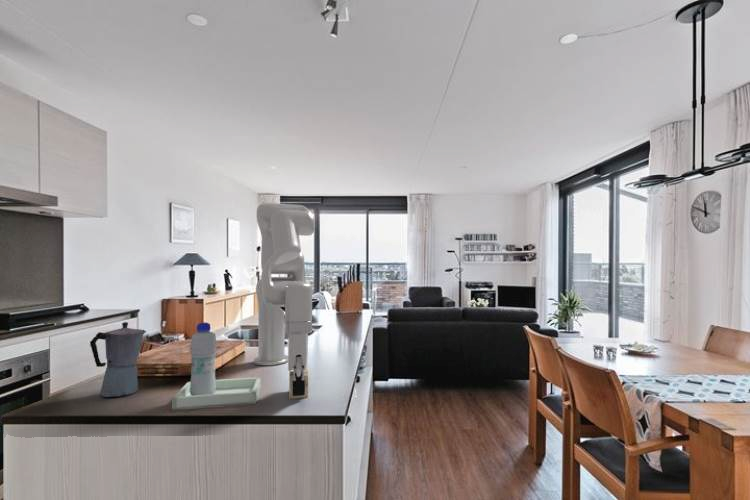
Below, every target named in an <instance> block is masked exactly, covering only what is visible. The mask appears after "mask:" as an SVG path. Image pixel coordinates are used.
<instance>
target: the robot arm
mask: <svg viewBox="0 0 750 500" xmlns="http://www.w3.org/2000/svg"><path fill="white" fill-rule="evenodd" d="M314 216H315V215H314V214H313V212H311V209H310V210H309V209H308V208H307V207H306V206H304V205H302V204H289V203H277V202H276V203H275V202H271V203H270V202H269V203H262V204H259V205H258V206H257V208H256V223H257V225H258V228H259V231H260V236H261V252H260V255H261V257H260V258H261V259H260V261H261V262H260V264H261V265H260V266H261V270H262V271H261V275H260V276H261V278H260V279H259V280H258V281H257V283H256V286H255V287H256V288H255V292H256V299H257V309H258V311H257V313H258V318H257V319H258V332H257V333H258V345H257V346H258V350H257V351H258V352H257V353H258V356H257V357H256V358H254V359H253V363H254V364H255V365H258V366H277V365H282V364H285V363H287V366H288V367H287V370H288V371H289V372H290V371H294V380H293V396H302V395H305V380H304V370H307V365H308V350H309V346H308V345H309V334H311V333H313V287H312V285H311V284H310V283H309V282H307V281H305V256H304V253H303V252H302V249H301V242H300V236H306V237H307V236H312V235H313V234H314V232H315V229H316V221H315V217H314ZM272 275H290V276H272ZM282 308H284V310H283V309H282ZM285 334H286V335H288V343H287V345H288V346H287V347H288V348H287V349H288V352H287V353H288V354H287V355H288V356H287V355H285V347H286V346H285V343H286V342H285V338H286V337H285ZM295 377H296V378H295ZM295 379H296V380H295Z"/></svg>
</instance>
